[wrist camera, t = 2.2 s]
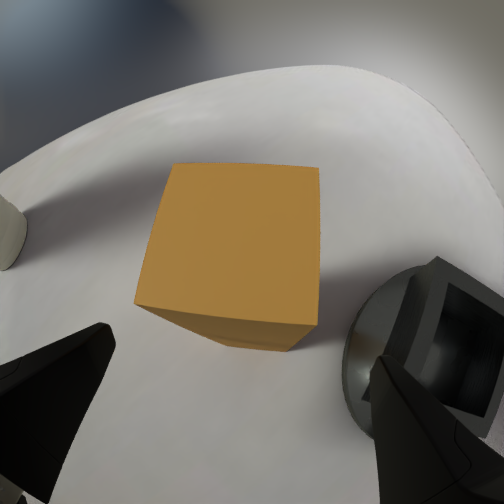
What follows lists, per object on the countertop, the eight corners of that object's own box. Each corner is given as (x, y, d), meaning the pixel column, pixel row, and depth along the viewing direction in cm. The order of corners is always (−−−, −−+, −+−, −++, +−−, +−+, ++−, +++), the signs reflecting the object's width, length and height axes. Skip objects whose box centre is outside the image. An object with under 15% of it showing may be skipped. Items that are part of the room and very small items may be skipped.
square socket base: (447, 460, 12) (486, 475, 7) (304, 415, 15) (318, 435, 10) (498, 310, 16) (537, 292, 11) (383, 243, 20) (411, 205, 15)
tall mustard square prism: (285, 351, 17) (317, 325, 5) (226, 345, 18) (133, 303, 6) (290, 294, 19) (318, 167, 7) (233, 289, 19) (173, 163, 7)
